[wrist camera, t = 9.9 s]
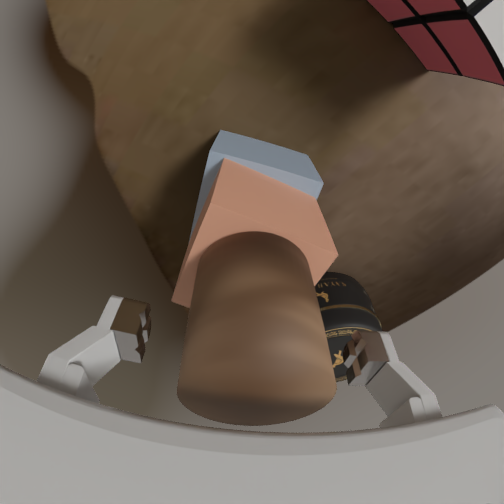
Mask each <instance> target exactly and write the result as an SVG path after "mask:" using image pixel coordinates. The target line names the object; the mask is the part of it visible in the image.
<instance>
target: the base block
mask: <svg viewBox="0 0 504 504" xmlns="http://www.w3.org/2000/svg"><path fill="white" fill-rule="evenodd" d="M224 158H226V159H229V160H231V161H234V162H236V163H239V164H241V165H243V166H246V167H248V168H250V169H253V170H255V171H257V172H260V173H262V174H264V175H267V176H269V177H271V178H273V179H276V180H278V181H280V182H282V183H285V184H287V185H289V186H291V187H293V188H296V189H298V190H300V191H302V192H304V193H306V194H308V195H311V196H313V197H315V199H316V200H317V198H318V196H319V193H320V191H321V189H322V186H323V184H324V183H323V181H322V179H321V177H320V176H319V174H318V172H317V170H316V169H315V167H314V165H313V163H312V162H311V160H310V158H309V157H308V155H306V154H303V153H300V152H297V151H293V150H290V149H287V148H284V147H281V146H277V145H274V144H271V143H267V142H264V141H260V140H257V139H253V138H250V137H246V136H242V135H239V134H235V133H231V132H227V131H223V130H220V132H219V134H218V136H217V138H216V140H215V141H214V143H213V145H212V147H211V149H210V152H209V156H208V160H207V164H206V168H205V172H204V176H203V180H202V184H201V189H200V193H199V197H198V202H197V206H196V211H195V215H194V220H193V225H192V230H191V234H190V238H191V236H192V233H193V231H194V228H195V226H196V223H197V221H198V218H199V216H200V213H201V211H202V208H203V206H204V204H205V201H206V199H207V196H208V194H209V192H210V189H211V187H212V185H213V182H214V180H215V178H216V175H217V173H218V171H219V168H220V166H221V164H222V162H223V159H224ZM189 241H190V239H189Z"/></svg>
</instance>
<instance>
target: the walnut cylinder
mask: <svg viewBox="0 0 504 504" xmlns="http://www.w3.org/2000/svg"><path fill="white" fill-rule="evenodd" d="M336 390H337V386H336V380H335V375H334V370H333V365H332V361H331V356H330V351H329V347H328V342H327V338H326V333H325V329H324V324H323V320H322V316H321V312H320V307H319V303H318V299H317V295H316V291H315V287H314V283H313V279H312V275H311V271H310V267H309V264H308V261H307V258H306V257H305V255H304V253H303V252H302V251H301V250H300V248H298V247H297V246H296V245H295V244H294V243H292V242H291V241H289V240H288V239H286V238H284V237H282V236H279V235H276V234H273V233H268V232H260V231H248V232H240V233H236V234H232V235H230V236H227V237H225V238H223V239H221V240H219V241H217V242H216V243H214V244H213V245H212V246H211V247H209V248H208V249H207V251H206V252H205V253H204V254H203V256H202V258H201V259H200V261H199V264H198V268H197V273H196V278H195V283H194V289H193V294H192V300H191V305H190V311H189V317H188V322H187V328H186V335H185V341H184V347H183V353H182V360H181V366H180V373H179V380H178V387H177V395H178V398H179V400H180V402H181V403H182V404H183V405H184V406H185V407H186V408H187V409H189V410H190V411H192V412H194V413H195V414H197V415H200V416H202V417H204V418H207V419H210V420H213V421H217V422H222V423H227V424H234V425H248V426H258V425H272V424H279V423H285V422H289V421H293V420H297V419H300V418H303V417H306V416H308V415H310V414H312V413H314V412H316V411H318V410H320V409H322V408H323V407H324V406H326V405H327V404H328V403H329V402H330V401H331V400H332V399H333V397H334V395H335V394H336Z"/></svg>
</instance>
